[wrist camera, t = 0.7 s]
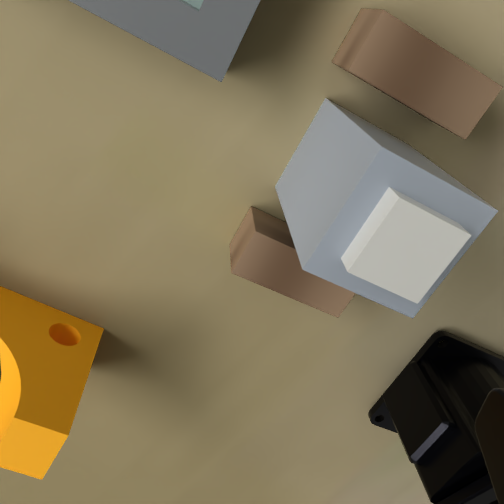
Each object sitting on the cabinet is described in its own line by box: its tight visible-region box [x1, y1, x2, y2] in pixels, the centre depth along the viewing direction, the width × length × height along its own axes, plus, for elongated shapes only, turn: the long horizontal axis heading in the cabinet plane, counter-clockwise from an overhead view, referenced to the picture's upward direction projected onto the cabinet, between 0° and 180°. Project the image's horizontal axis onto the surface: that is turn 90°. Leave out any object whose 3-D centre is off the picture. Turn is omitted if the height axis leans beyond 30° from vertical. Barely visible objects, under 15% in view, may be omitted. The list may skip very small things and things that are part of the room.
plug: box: [275, 98, 498, 318], centre depth 16 cm, size 4×4×8 cm
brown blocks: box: [230, 9, 503, 317], centre depth 19 cm, size 5×10×2 cm, turn 152°
